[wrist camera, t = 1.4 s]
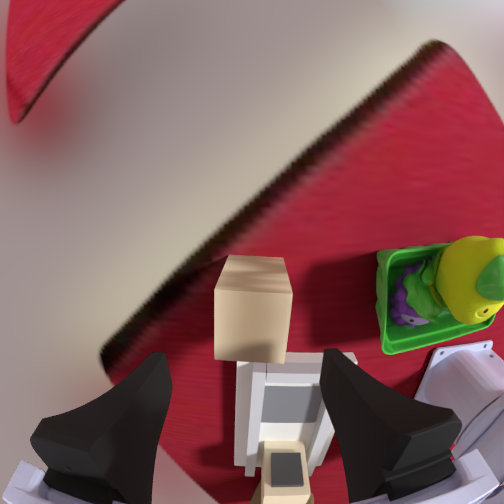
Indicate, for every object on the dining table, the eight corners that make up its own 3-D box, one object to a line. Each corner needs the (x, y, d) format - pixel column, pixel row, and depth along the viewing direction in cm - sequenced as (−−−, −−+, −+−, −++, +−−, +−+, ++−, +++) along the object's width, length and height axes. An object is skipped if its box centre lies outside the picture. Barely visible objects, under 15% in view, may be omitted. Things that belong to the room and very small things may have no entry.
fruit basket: (360, 325, 23) (414, 417, 12) (360, 220, 21) (446, 261, 10) (463, 303, 22) (535, 361, 11) (470, 211, 20) (564, 238, 9)
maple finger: (283, 257, 21) (292, 294, 15) (277, 317, 23) (283, 370, 16) (228, 254, 22) (214, 289, 15) (227, 314, 23) (214, 366, 16)
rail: (352, 352, 23) (383, 418, 15) (319, 456, 27) (328, 512, 19) (238, 349, 23) (228, 422, 15) (234, 456, 27) (229, 514, 19)
